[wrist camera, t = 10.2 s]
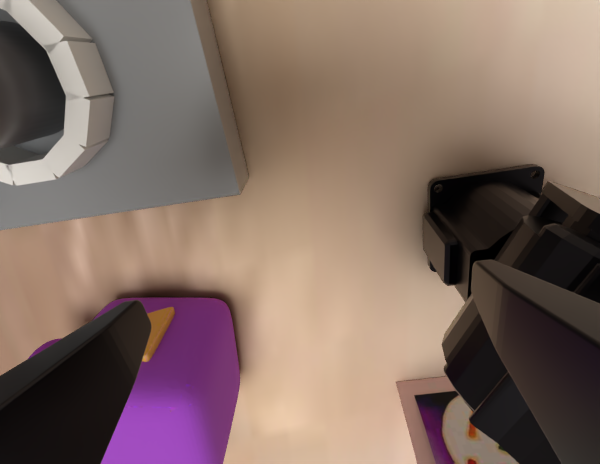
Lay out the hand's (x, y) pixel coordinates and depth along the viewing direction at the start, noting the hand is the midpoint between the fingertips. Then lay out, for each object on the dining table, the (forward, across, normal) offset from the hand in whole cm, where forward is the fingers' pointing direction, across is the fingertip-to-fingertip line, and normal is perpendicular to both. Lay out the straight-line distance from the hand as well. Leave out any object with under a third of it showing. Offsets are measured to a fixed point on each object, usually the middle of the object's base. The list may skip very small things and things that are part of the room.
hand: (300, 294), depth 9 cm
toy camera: (+13, +14, +12) cm, 23 cm away
